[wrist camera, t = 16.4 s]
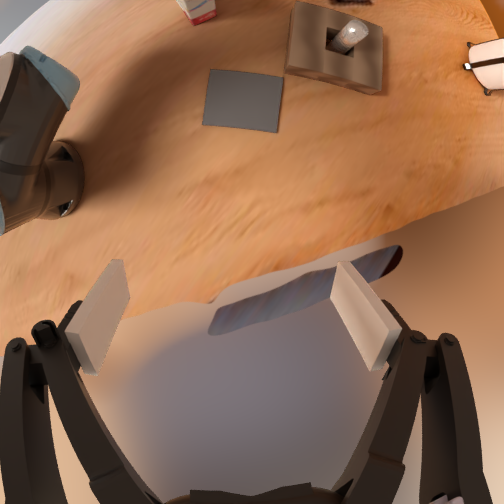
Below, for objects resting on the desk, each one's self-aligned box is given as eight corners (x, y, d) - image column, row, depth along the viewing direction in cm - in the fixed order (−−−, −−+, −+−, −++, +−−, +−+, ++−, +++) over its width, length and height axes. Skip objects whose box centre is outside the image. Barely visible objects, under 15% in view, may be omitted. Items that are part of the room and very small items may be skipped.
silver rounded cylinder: (325, 55, 36) (348, 32, 26) (326, 41, 35) (348, 17, 25) (341, 60, 37) (368, 39, 26) (342, 46, 36) (368, 24, 25)
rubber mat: (202, 124, 40) (202, 124, 40) (210, 70, 37) (210, 69, 36) (275, 132, 41) (276, 132, 41) (282, 78, 38) (283, 77, 38)
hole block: (283, 73, 38) (288, 65, 33) (291, 11, 33) (296, 0, 29) (369, 95, 39) (381, 90, 35) (371, 35, 35) (382, 27, 30)
